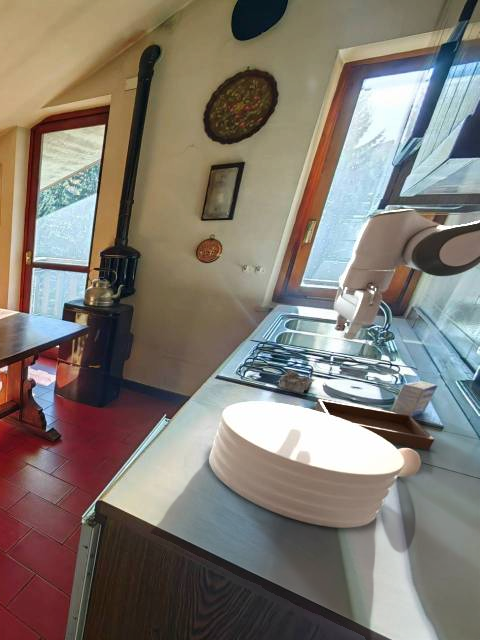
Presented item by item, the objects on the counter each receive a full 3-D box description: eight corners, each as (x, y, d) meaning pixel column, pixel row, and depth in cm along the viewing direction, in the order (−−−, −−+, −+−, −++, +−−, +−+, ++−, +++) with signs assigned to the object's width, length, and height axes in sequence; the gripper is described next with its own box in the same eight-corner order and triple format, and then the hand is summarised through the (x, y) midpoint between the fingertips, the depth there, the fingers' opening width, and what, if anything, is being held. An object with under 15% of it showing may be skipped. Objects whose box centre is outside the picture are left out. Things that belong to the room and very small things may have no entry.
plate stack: (180, 457, 89) (192, 413, 85) (261, 435, 99) (276, 394, 94) (319, 545, 65) (346, 490, 61) (409, 504, 75) (438, 454, 70)
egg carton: (287, 379, 133) (291, 368, 132) (314, 387, 127) (319, 375, 126) (273, 386, 128) (277, 374, 126) (301, 394, 122) (305, 382, 120)
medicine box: (410, 418, 108) (425, 389, 104) (389, 411, 112) (403, 383, 108) (424, 413, 111) (438, 385, 107) (403, 406, 115) (416, 379, 111)
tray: (405, 425, 104) (410, 415, 103) (428, 450, 93) (434, 439, 92) (314, 408, 113) (318, 399, 112) (325, 429, 102) (329, 419, 100)
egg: (391, 467, 86) (405, 442, 83) (418, 481, 82) (433, 454, 79) (374, 470, 85) (387, 444, 83) (401, 484, 81) (416, 457, 78)
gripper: (398, 287, 87) (372, 346, 93) (369, 277, 103) (348, 327, 109) (361, 285, 90) (338, 342, 95) (338, 275, 106) (319, 324, 112)
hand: (343, 334), depth 102 cm, fingers open, 8 cm apart
